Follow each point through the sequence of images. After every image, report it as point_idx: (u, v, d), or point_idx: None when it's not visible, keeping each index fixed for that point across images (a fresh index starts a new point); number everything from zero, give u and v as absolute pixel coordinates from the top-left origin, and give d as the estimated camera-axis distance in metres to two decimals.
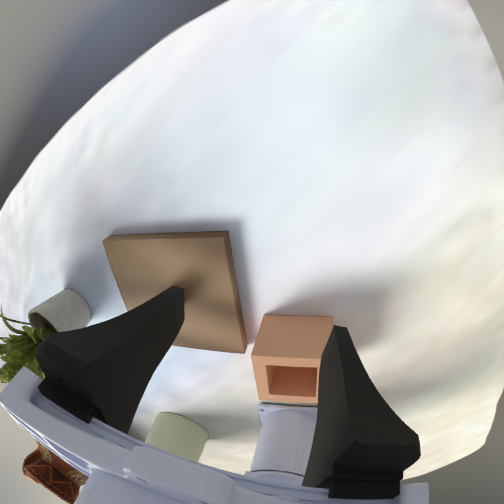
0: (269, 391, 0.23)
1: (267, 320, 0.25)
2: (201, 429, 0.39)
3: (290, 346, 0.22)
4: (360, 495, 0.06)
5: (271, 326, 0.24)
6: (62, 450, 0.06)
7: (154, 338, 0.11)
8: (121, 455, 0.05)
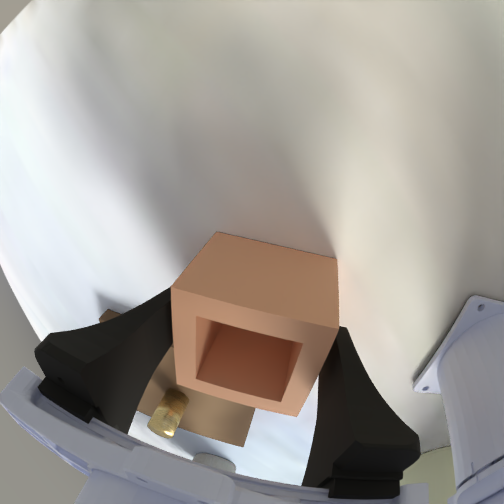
0: (277, 398, 0.12)
1: None
2: (440, 450, 0.20)
3: None
4: (360, 495, 0.06)
5: None
6: (62, 450, 0.06)
7: (154, 338, 0.11)
8: (121, 455, 0.05)
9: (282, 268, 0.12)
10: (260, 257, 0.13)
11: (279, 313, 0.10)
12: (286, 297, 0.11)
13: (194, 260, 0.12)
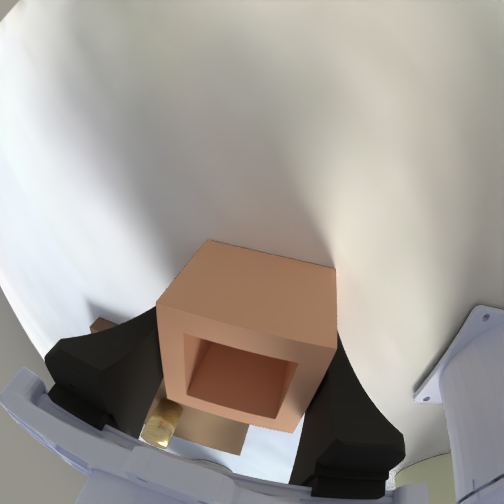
0: (271, 415, 0.11)
1: None
2: (441, 457, 0.19)
3: None
4: (343, 494, 0.06)
5: None
6: (62, 450, 0.06)
7: None
8: (121, 455, 0.05)
9: (276, 280, 0.11)
10: (253, 267, 0.12)
11: (272, 331, 0.09)
12: (280, 313, 0.10)
13: (182, 272, 0.11)
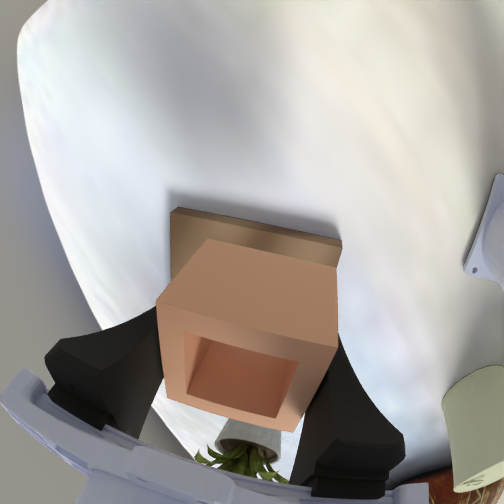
0: (272, 414, 0.11)
1: None
2: (485, 369, 0.21)
3: None
4: (343, 494, 0.06)
5: None
6: (62, 450, 0.06)
7: None
8: (121, 455, 0.05)
9: (277, 279, 0.11)
10: (253, 266, 0.12)
11: (272, 330, 0.09)
12: (281, 312, 0.10)
13: (182, 270, 0.11)
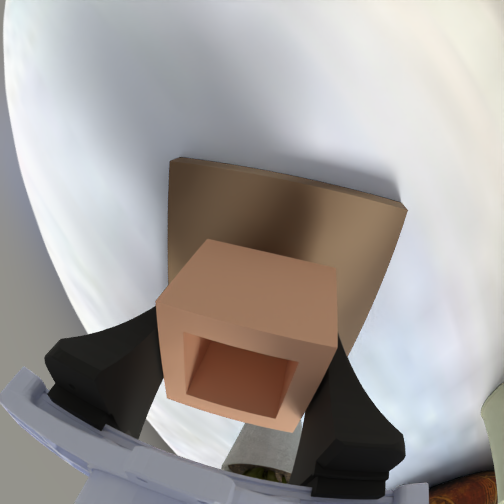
0: (271, 414, 0.11)
1: None
2: None
3: None
4: (343, 494, 0.06)
5: None
6: (62, 450, 0.06)
7: None
8: (121, 455, 0.05)
9: (277, 279, 0.11)
10: (253, 266, 0.12)
11: (272, 330, 0.09)
12: (280, 312, 0.10)
13: (182, 271, 0.11)
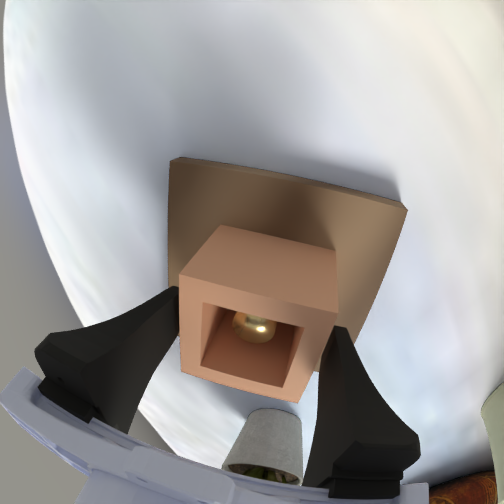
0: (279, 384, 0.13)
1: None
2: None
3: None
4: (360, 495, 0.06)
5: None
6: (62, 450, 0.06)
7: (154, 338, 0.11)
8: (121, 455, 0.05)
9: (284, 258, 0.13)
10: (263, 247, 0.14)
11: (282, 298, 0.10)
12: (288, 284, 0.11)
13: (200, 250, 0.13)
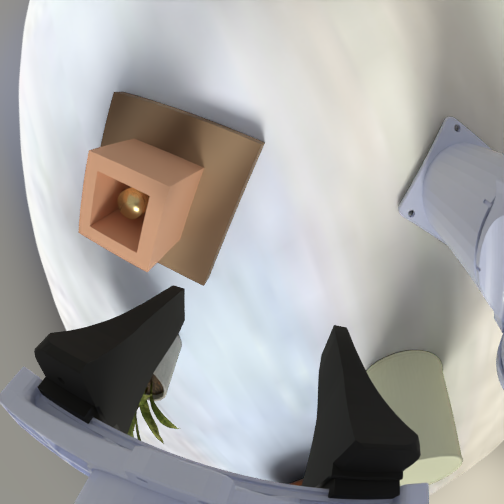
0: (135, 250, 0.17)
1: None
2: (415, 352, 0.23)
3: None
4: (360, 495, 0.06)
5: None
6: (62, 450, 0.06)
7: (154, 338, 0.11)
8: (121, 455, 0.05)
9: (160, 159, 0.17)
10: (151, 153, 0.18)
11: (139, 171, 0.15)
12: (150, 168, 0.16)
13: (110, 145, 0.17)
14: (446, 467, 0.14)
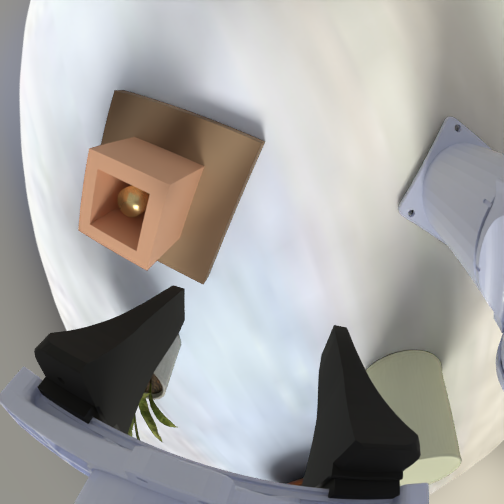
0: (135, 248, 0.17)
1: None
2: (414, 352, 0.23)
3: None
4: (360, 495, 0.06)
5: None
6: (62, 450, 0.06)
7: (154, 338, 0.11)
8: (121, 455, 0.05)
9: (160, 158, 0.17)
10: (151, 151, 0.18)
11: (139, 169, 0.15)
12: (150, 166, 0.16)
13: (110, 143, 0.17)
14: (445, 467, 0.14)
